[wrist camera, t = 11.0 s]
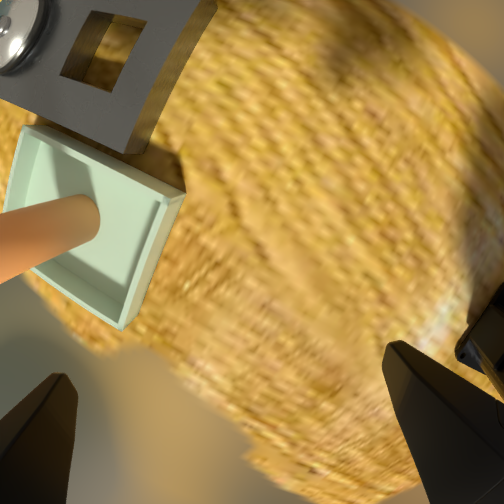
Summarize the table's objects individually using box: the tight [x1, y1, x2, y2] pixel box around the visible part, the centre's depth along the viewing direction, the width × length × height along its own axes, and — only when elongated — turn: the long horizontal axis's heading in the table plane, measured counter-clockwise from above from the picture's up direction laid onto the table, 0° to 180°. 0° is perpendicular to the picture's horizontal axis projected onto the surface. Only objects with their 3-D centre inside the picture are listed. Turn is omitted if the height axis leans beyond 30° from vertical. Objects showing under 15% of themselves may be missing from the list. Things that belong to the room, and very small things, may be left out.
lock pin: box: [0, 194, 100, 284], centre depth 13 cm, size 3×3×13 cm
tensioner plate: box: [0, 0, 218, 154], centre depth 14 cm, size 18×10×5 cm, turn 63°
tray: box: [3, 125, 186, 332], centre depth 18 cm, size 12×9×2 cm
